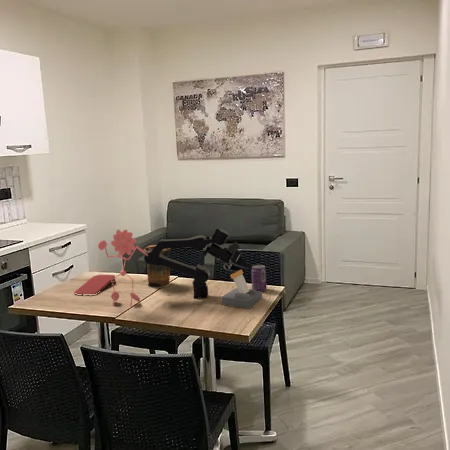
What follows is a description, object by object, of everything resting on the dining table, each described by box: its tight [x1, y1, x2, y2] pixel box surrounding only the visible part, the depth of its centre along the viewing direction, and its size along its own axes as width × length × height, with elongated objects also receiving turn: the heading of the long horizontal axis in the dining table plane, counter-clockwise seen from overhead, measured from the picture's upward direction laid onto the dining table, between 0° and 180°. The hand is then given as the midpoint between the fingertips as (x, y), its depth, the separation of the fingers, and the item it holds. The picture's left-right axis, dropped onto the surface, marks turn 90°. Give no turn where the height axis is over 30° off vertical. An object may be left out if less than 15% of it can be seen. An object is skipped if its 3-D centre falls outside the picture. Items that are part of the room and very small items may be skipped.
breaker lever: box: [230, 269, 250, 294], centre depth 221 cm, size 3×6×10 cm, turn 151°
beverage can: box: [251, 264, 267, 292], centre depth 237 cm, size 7×7×12 cm
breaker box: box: [220, 287, 263, 309], centre depth 222 cm, size 14×14×5 cm
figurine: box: [97, 229, 148, 307], centre depth 227 cm, size 15×26×35 cm, turn 73°
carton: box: [74, 274, 116, 294], centre depth 254 cm, size 12×5×25 cm
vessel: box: [143, 245, 172, 289], centre depth 254 cm, size 14×14×20 cm
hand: (247, 269), depth 228 cm, fingers open, 9 cm apart
